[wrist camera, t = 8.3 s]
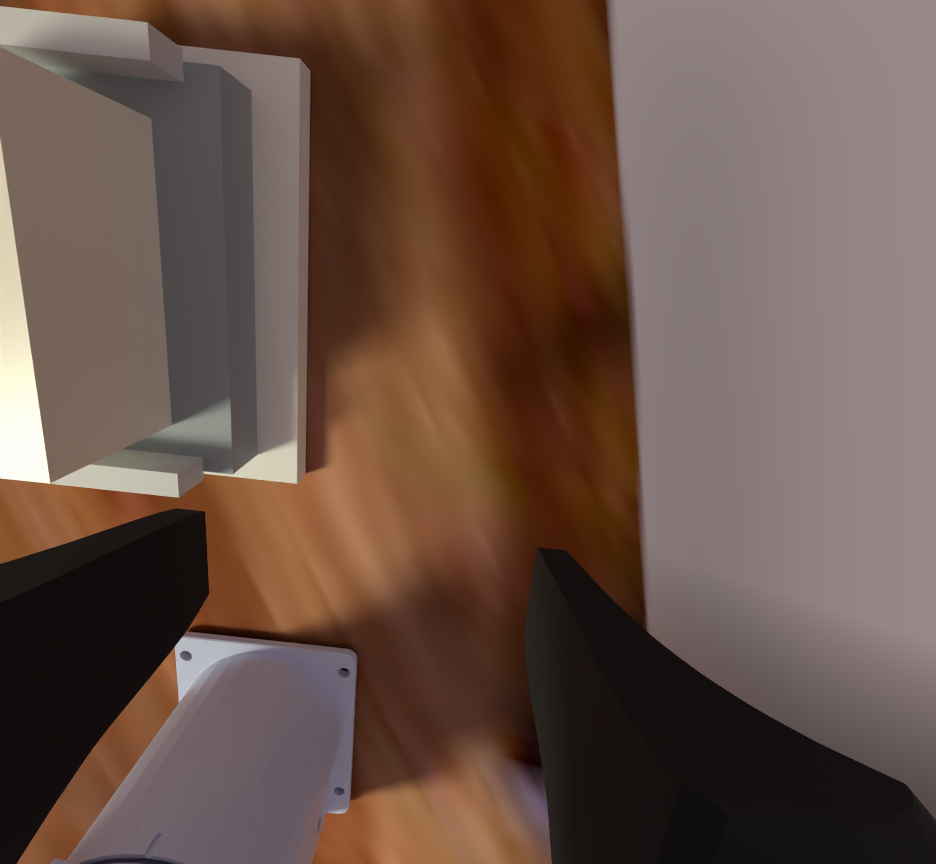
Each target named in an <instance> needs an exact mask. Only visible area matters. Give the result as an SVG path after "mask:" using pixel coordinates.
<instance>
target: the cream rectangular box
mask: <svg viewBox="0 0 936 864" xmlns="http://www.w3.org/2000/svg"><path fill="white" fill-rule="evenodd" d="M171 425H172V418H171V403H170V388H169V374H168V359H167V344H166V329H165V314H164V299H163V284H162V269H161V254H160V239H159V224H158V210H157V195H156V180H155V165H154V150H153V135H152V120H151V118H149V117H147V116H145V115H143V114H141V113H139V112H136V111H134V110H132V109H130V108H128V107H126V106H124V105H122V104H120V103H117V102H115V101H113V100H111V99H109V98H107V97H105V96H103V95H101V94H98V93H96V92H94V91H92V90H90V89H88V88H86V87H84V86H82V85H79V84H77V83H75V82H73V81H71V80H69V79H67V78H65V77H63V76H60V75H58V74H56V73H54V72H52V71H50V70H48V69H46V68H44V67H41V66H39V65H37V64H35V63H33V62H31V61H29V60H27V59H25V58H22V57H20V56H18V55H16V54H14V53H12V52H10V51H8V50H6V49H3V48H1V47H0V478H5V479H15V480H24V481H33V482H42V483H52V482H54V481H56V480H58V479H60V478H62V477H64V476H67V475H69V474H71V473H73V472H75V471H77V470H79V469H81V468H83V467H85V466H88V465H90V464H92V463H94V462H96V461H98V460H100V459H102V458H104V457H106V456H108V455H111V454H113V453H115V452H117V451H119V450H121V449H123V448H125V447H127V446H129V445H131V444H134V443H136V442H138V441H140V440H142V439H144V438H146V437H148V436H150V435H152V434H155V433H157V432H159V431H161V430H163V429H165V428H167V427H169V426H171Z"/></svg>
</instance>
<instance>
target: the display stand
mask: <svg viewBox="0 0 936 864" xmlns="http://www.w3.org/2000/svg"><path fill="white" fill-rule="evenodd" d="M0 47H1V48H3V49H6V50H8V51H10V52H12V53H14V54H16V55H18V56H20V57H22V58H25V59H27V60H29V61H31V62H33V63H35V64H37V65H39V66H41V67H44V68H46V69H48V70H50V71H52V72H54V73H56V74H58V75H60V76H63V77H65V78H67V79H69V80H71V81H73V82H75V83H77V84H79V85H82V86H84V87H86V88H88V89H90V90H92V91H94V92H96V93H98V94H101V95H103V96H105V97H107V98H109V99H111V100H113V101H115V102H117V103H120V104H122V105H124V106H126V107H128V108H130V109H132V110H134V111H136V112H139V113H141V114H143V115H145V116H147V117H149V118H151V120H152V135H153V150H154V165H155V180H156V195H157V210H158V224H159V239H160V254H161V269H162V284H163V299H164V314H165V329H166V344H167V359H168V374H169V388H170V403H171V418H172V425H171V426H169V427H167V428H165V429H163V430H161V431H159V432H157V433H155V434H152V435H150V436H148V437H146V438H144V439H142V440H140V441H138V442H136V443H134V444H131V445H129V446H127V447H125V448H123V449H121V450H119V451H117V452H115V453H113V454H111V455H108V456H106V457H104V458H102V459H100V460H98V461H96V462H94V463H92V464H90V465H88V466H85V467H83V468H81V469H79V470H77V471H75V472H73V473H71V474H69V475H67V476H64V477H62V478H60V479H58V480H56V481H54V482H52V483H49V484H59V485H68V486H77V487H86V488H96V489H105V490H114V491H123V492H133V493H142V494H151V495H161V496H170V497H180V496H182V495H183V494H184V493H186V492H187V491H189V490H190V489H191V488H193V487H194V486H195V485H197V484H198V483H200V482H201V481H202V480H204V474H213V475H222V476H231V477H241V478H250V479H259V480H268V481H278V482H287V483H296V484H297V483H298V482H299V481H300V480H301V478H302V477H303V476H304V475H305V474H306V398H307V316H308V233H309V151H310V70H309V69H308V68H307V66H306V65H305V64H304V63H303V62H302V60H301V59H300V58H291V57H282V56H273V55H263V54H254V53H245V52H236V51H227V50H218V49H208V48H199V47H190V46H181V45H177V44H176V43H174V42H173V41H172V40H170V39H169V38H168V37H166V36H165V35H164V34H162V33H161V32H160V31H158V30H157V29H156V28H154V27H153V26H152V25H150V24H149V23H148V22H139V21H130V20H121V19H112V18H103V17H94V16H84V15H75V14H66V13H57V12H48V11H39V10H29V9H20V8H11V7H2V6H0ZM3 479H5V478H3ZM12 480H15V479H12ZM21 481H24V480H21ZM31 482H33V481H31ZM40 483H42V482H40Z"/></svg>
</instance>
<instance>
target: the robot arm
mask: <svg viewBox="0 0 936 864" xmlns="http://www.w3.org/2000/svg"><path fill="white" fill-rule="evenodd" d="M208 595H209V582H208V562H207V543H206V523H205V512H204V511H195V510H186V509H173V510H168V511H164V512H160V513H157V514H153V515H150V516H147V517H143V518H140V519H137V520H134V521H131V522H128V523H125V524H122V525H119V526H117V527H114V528H111V529H108V530H105V531H102V532H99V533H96V534H93V535H90V536H87V537H84V538H81V539H78V540H76V541H73V542H70V543H66V544H63V545H60V546H57V547H54V548H50V549H47V550H44V551H41V552H38V553H35V554H31V555H28V556H25V557H22V558H19V559H15V560H12V561H9V562H5V563H2V564H0V864H17V862H18V860H19V859H20V857H21V856H22V854H23V853H24V851H25V849H26V848H27V846H28V845H29V843H30V842H31V840H32V839H33V837H34V835H35V834H36V832H37V831H38V829H39V828H40V826H41V824H42V823H43V821H44V820H45V818H46V817H47V815H48V814H49V812H50V810H51V809H52V807H53V806H54V804H55V803H56V801H57V800H58V798H59V797H60V795H61V794H62V793H63V791H64V790H65V788H66V787H67V785H68V784H69V782H70V781H71V779H72V778H73V776H74V775H75V773H76V772H77V770H78V769H79V767H80V766H81V764H82V763H83V761H84V760H85V759H86V757H87V756H88V754H89V753H90V751H91V750H92V749H93V747H94V746H95V745H96V744H97V742H98V741H99V740H100V738H101V737H102V736H103V734H104V733H105V732H106V730H107V729H108V728H109V727H110V725H111V724H112V723H113V722H114V721H115V719H116V718H117V717H118V716H119V714H120V713H121V712H122V711H123V710H124V708H125V707H126V706H127V705H128V703H129V702H130V701H131V700H132V699H133V697H134V696H135V695H136V694H137V692H138V691H139V690H140V689H141V688H142V686H143V685H144V684H145V683H146V682H147V680H148V679H149V678H150V677H151V675H152V674H153V673H154V672H155V671H156V669H157V668H158V667H159V666H160V664H161V663H162V662H163V661H164V659H165V658H166V657H167V656H168V654H169V653H170V652H171V651H172V649H173V648H174V647H175V655H176V668H177V682H178V695H179V704H178V705H177V707H176V708H175V709H174V711H173V712H172V714H171V715H170V716H169V718H168V719H167V721H166V722H165V723H164V725H163V726H162V728H161V729H160V730H159V732H158V733H157V735H156V736H155V737H154V739H153V740H152V742H151V743H150V744H149V746H148V747H147V749H146V750H145V751H144V753H143V754H142V756H141V757H140V758H139V760H138V761H137V763H136V764H135V765H134V767H133V768H132V770H131V771H130V772H129V774H128V775H127V777H126V778H125V779H124V781H123V782H122V784H121V785H120V786H119V788H118V789H117V791H116V792H115V793H114V795H113V796H112V798H111V799H110V800H109V802H108V803H107V805H106V806H105V807H104V809H103V810H102V812H101V813H100V814H99V816H98V817H97V819H96V820H95V821H94V823H93V824H92V826H91V827H90V828H89V830H88V831H87V833H86V834H85V835H84V837H83V838H82V840H81V841H80V842H79V844H78V845H77V847H76V848H75V849H74V851H73V852H72V854H71V855H70V856H69V858H68V859H67V861H65V860H62V859H59V858H57V859H54V860H53V861H52V862H51V863H50V864H312V860H313V857H314V854H315V850H316V847H317V843H318V840H319V837H320V833H321V830H322V826H323V823H324V820H325V816H326V813H327V812H328V813H337V814H340V813H344V812H346V811H347V810H348V808H349V805H350V799H351V779H352V759H353V739H354V718H355V698H356V678H357V655H356V654H355V652H353V651H352V650H350V649H345V648H336V647H327V646H317V645H308V644H299V643H289V642H280V641H271V640H262V639H252V638H243V637H234V636H224V635H215V634H206V633H196V632H186V631H187V629H188V628H189V626H190V625H191V623H192V622H193V620H194V618H195V617H196V615H197V614H198V612H199V610H200V608H201V607H202V605H203V603H204V602H205V600H206V598H207V596H208ZM524 629H525V655H526V672H527V678H528V685H529V691H530V697H531V703H532V709H533V715H534V721H535V726H536V732H537V738H538V744H539V750H540V756H541V762H542V767H543V773H544V780H545V788H546V796H547V804H548V817H549V830H550V844H551V857H552V864H936V820H935V819H934V818H933V816H932V815H931V814H930V813H929V812H928V810H927V809H926V808H925V807H924V806H923V805H922V803H921V802H920V801H919V800H918V798H917V797H916V796H915V795H914V794H913V793H912V791H911V790H910V789H909V788H908V786H906V784H904V783H902V782H900V781H898V780H895V779H893V778H891V777H889V776H887V775H885V774H883V773H881V772H879V771H876V770H874V769H872V768H870V767H868V766H866V765H864V764H861V763H859V762H857V761H855V760H853V759H851V758H849V757H847V756H844V755H842V754H840V753H838V752H836V751H834V750H832V749H830V748H827V747H825V746H823V745H821V744H819V743H817V742H815V741H814V740H812V739H810V738H808V737H806V736H804V735H802V734H801V733H799V732H797V731H795V730H793V729H791V728H789V727H788V726H786V725H784V724H782V723H780V722H778V721H777V720H775V719H773V718H771V717H769V716H768V715H766V714H764V713H762V712H761V711H759V710H757V709H756V708H754V707H752V706H751V705H749V704H747V703H746V702H744V701H742V700H741V699H739V698H738V697H736V696H734V695H733V694H731V693H730V692H728V691H727V690H725V689H724V688H722V687H721V686H719V685H717V684H716V683H714V682H713V681H711V680H710V679H708V678H706V677H705V676H704V675H702V674H701V673H700V672H698V671H697V670H695V669H694V668H692V667H691V666H690V665H688V664H687V663H686V662H684V661H683V660H682V659H680V658H679V657H678V656H676V655H675V654H674V653H673V652H671V651H670V650H669V649H667V648H666V647H665V646H663V645H662V644H661V643H660V642H659V641H657V640H656V639H655V638H654V637H652V636H651V635H650V634H649V633H648V632H647V631H646V630H645V629H643V628H642V627H641V626H640V625H639V624H638V623H637V622H636V621H634V620H633V619H632V618H631V617H630V616H629V615H628V614H627V613H626V612H625V611H624V610H623V609H622V608H620V607H619V606H618V605H617V604H616V603H615V602H614V601H613V600H612V599H611V598H610V597H609V596H608V595H607V594H606V593H605V592H604V591H603V590H602V588H601V587H600V586H599V585H598V584H597V583H596V582H595V581H594V580H593V579H592V578H591V577H590V576H589V575H588V574H587V573H586V571H585V570H584V569H583V568H582V567H581V566H580V565H579V564H578V563H577V562H576V561H575V560H574V558H573V557H572V556H571V555H570V554H569V553H568V552H567V551H565V550H556V549H547V548H538V547H537V553H536V559H535V565H534V571H533V578H532V584H531V590H530V596H529V603H528V609H527V615H526V621H525V627H524ZM186 651H188V652H189V653H191V654H188V653H187V652H186ZM341 668H346V669H348V670H349V671H344V670H342V669H341Z"/></svg>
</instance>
